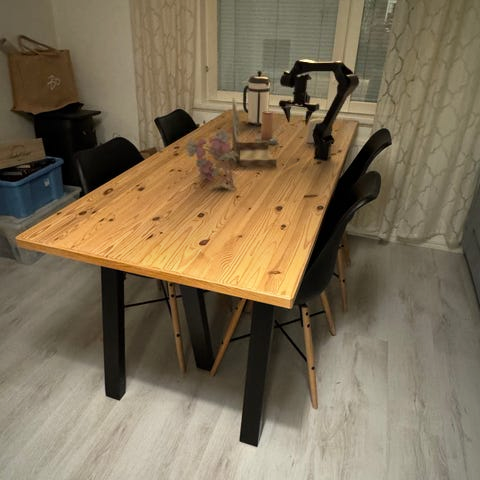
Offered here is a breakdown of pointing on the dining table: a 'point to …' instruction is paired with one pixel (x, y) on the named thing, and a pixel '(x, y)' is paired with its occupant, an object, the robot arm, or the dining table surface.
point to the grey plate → (270, 142)
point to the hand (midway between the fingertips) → (297, 123)
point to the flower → (218, 150)
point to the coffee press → (257, 97)
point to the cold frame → (250, 148)
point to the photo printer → (312, 128)
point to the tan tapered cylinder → (267, 125)
